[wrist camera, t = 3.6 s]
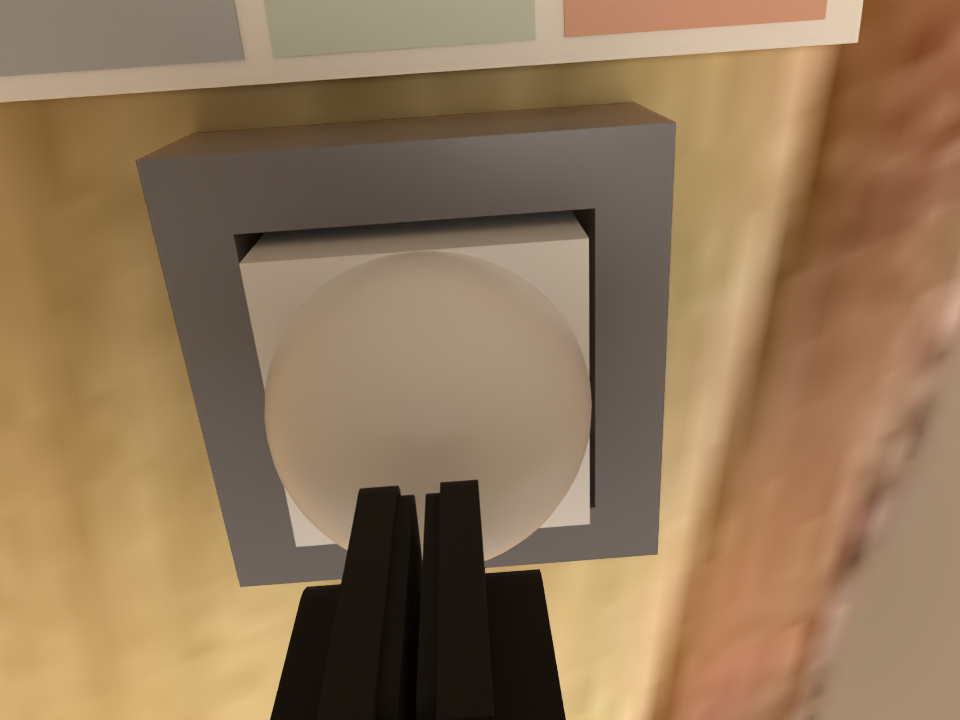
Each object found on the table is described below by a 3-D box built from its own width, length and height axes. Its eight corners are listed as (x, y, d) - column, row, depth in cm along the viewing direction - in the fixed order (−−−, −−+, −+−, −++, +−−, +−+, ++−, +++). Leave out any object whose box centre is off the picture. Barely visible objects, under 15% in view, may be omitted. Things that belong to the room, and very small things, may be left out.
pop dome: (274, 220, 17) (185, 330, 11) (564, 199, 17) (626, 297, 11) (318, 467, 20) (264, 660, 14) (568, 447, 20) (620, 632, 14)
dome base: (192, 133, 17) (135, 161, 14) (633, 102, 17) (675, 122, 14) (270, 501, 21) (240, 586, 18) (625, 473, 22) (657, 554, 18)
